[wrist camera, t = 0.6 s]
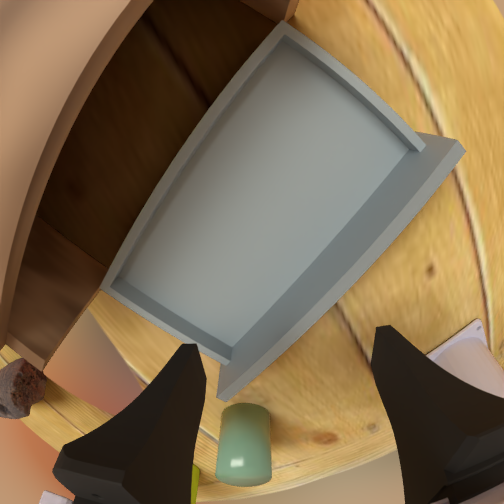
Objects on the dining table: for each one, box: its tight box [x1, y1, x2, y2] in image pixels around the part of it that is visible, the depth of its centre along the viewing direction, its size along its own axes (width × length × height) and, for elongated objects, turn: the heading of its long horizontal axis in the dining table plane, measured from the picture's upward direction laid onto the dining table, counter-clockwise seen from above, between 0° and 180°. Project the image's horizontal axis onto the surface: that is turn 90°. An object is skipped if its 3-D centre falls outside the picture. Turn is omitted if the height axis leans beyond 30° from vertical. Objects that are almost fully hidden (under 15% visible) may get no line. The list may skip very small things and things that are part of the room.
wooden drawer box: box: [0, 0, 299, 372], centre depth 12 cm, size 13×23×11 cm, turn 143°
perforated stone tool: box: [0, 358, 47, 419], centre depth 25 cm, size 15×5×7 cm, turn 119°
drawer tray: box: [100, 20, 466, 402], centre depth 17 cm, size 11×21×5 cm, turn 143°
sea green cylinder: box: [215, 403, 272, 487], centre depth 25 cm, size 5×5×7 cm
